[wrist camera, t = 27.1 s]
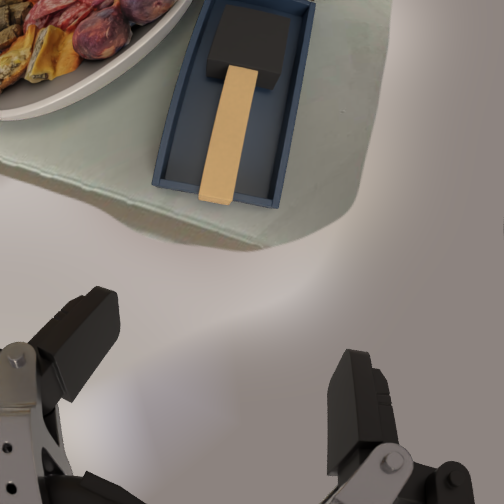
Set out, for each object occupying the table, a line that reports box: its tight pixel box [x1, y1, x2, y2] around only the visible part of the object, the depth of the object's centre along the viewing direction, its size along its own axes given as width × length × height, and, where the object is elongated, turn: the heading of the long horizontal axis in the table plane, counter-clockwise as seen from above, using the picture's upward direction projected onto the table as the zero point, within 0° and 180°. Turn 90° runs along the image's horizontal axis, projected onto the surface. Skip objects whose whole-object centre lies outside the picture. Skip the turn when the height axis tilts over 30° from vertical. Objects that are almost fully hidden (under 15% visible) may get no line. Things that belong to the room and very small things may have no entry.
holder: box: [152, 0, 316, 209], centre depth 24 cm, size 10×21×3 cm, turn 169°
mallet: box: [199, 4, 291, 205], centre depth 23 cm, size 6×18×3 cm, turn 169°
